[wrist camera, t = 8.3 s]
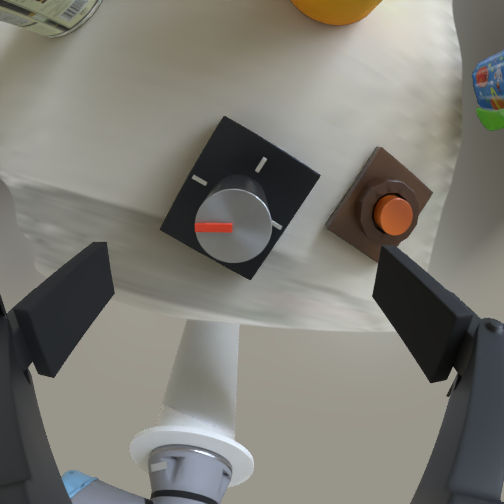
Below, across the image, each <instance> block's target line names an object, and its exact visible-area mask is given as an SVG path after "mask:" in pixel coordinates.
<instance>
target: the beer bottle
mask: <svg viewBox="0 0 504 504" xmlns="http://www.w3.org/2000/svg"><path fill="white" fill-rule="evenodd" d="M291 1H292V3H293V4H294V5H295V6H296V7H297V8H298V9H299V10H300V11H301V12H302V13H304V14H305V15H307V16H308V17H310V18H312V19H314V20H317V21H319V22H322V23H326V24H331V25H347V24H352V23H354V22H357V21H359V20H361V19H363V18H364V17H366V16H367V15H368V14H369V13H370V12H371V11H372V10H373V9H374V8H375V7H376V6H377V5H378V4H379V3H380V2H381V1H382V0H291Z"/></svg>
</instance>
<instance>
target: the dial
mask: <svg viewBox="0 0 504 504" xmlns="http://www.w3.org/2000/svg"><path fill="white" fill-rule="evenodd" d="M195 232H196V236H197V239H198V241H199V243H200V245H201V246H202V247H203V249H204V250H205V251H206V252H207V253H208V254H209V255H211V256H212V257H214V258H216V259H218V260H220V261H223V262H228V263H240V262H244V261H248V260H250V259H252V258H254V257H256V256H257V255H258V254H260V253H261V252H262V251H263V250H264V248H265V247H266V245H267V244H268V242H269V240H270V237H271V233H272V220H271V215H270V212H269V208H268V204H267V200H266V197H265V193H264V191H263V189H262V187H261V186H260V184H259V183H258V182H257V181H255V180H254V179H253V178H251V177H249V176H246V175H240V174H235V175H230V176H227V177H225V178H223V179H221V180H220V181H219V182H218V183H217V184H216V185H215V186H214V188H213V189H212V191H211V192H210V193H209V195H208V196H207V198H206V199H205V200H204V202H203V203H202V205H201V206H200V208H199V210H198V212H197V215H196V219H195Z"/></svg>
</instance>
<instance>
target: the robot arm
mask: <svg viewBox="0 0 504 504" xmlns="http://www.w3.org/2000/svg"><path fill="white" fill-rule="evenodd" d="M114 294H115V292H114V287H113V281H112V275H111V269H110V262H109V255H108V248H107V242H93V243H91V244H90V245H89V246H87V247H86V248H85V249H83V250H82V251H81V252H80V253H78V254H77V255H76V256H74V257H73V258H72V259H71V260H69V261H68V262H67V263H66V264H64V265H63V266H62V267H61V268H59V269H58V270H57V271H56V272H55V273H53V274H52V275H51V276H50V277H49V278H47V279H46V280H45V281H44V282H43V283H42V284H40V285H39V286H38V287H37V288H35V289H34V290H33V291H31V292H30V293H29V294H28V295H27V296H26V297H25V298H24V299H22V301H20V302H19V303H18V304H17V305H16V306H14V307H13V308H12V309H11V310H10V311H9V312H8V313H7V314H6V311H5V308H4V304H3V301H2V298H1V295H0V504H220V502H221V500H222V498H223V496H224V494H225V492H226V490H227V487H228V485H229V483H230V481H231V477H232V465H231V463H230V462H229V461H228V460H227V459H226V458H225V457H223V456H222V455H220V454H218V453H216V452H213V451H211V450H208V449H205V448H201V447H197V446H192V445H184V444H168V445H162V446H159V447H156V448H155V449H153V450H152V451H151V452H150V455H149V459H148V470H149V476H150V482H151V488H152V494H151V498H150V500H149V499H146V498H143V497H140V496H137V495H135V494H132V493H129V492H127V491H124V490H122V489H119V488H116V487H114V486H112V485H109V484H107V483H105V482H103V481H101V480H99V479H98V478H96V477H91V476H89V475H86V474H84V473H81V472H79V471H77V470H70V471H68V472H66V473H65V474H64V475H63V476H62V477H61V476H60V473H59V471H58V468H57V466H56V463H55V460H54V457H53V454H52V451H51V448H50V445H49V442H48V439H47V436H46V432H45V429H44V426H43V422H42V418H41V415H40V411H39V407H38V403H37V399H36V395H35V390H34V385H33V381H32V376H31V373H30V371H29V369H28V367H29V365H30V364H31V363H32V362H33V363H34V365H35V368H36V370H37V372H38V374H40V375H44V376H48V377H52V378H54V377H55V376H56V374H57V373H58V371H59V370H60V368H61V367H62V365H63V364H64V362H65V361H66V359H67V358H68V356H69V355H70V354H71V352H72V350H73V349H74V348H75V346H76V345H77V344H78V342H79V341H80V339H81V338H82V337H83V335H84V334H85V332H86V331H87V330H88V328H89V327H90V326H91V324H92V323H93V321H94V320H95V319H96V317H97V316H98V315H99V313H100V312H101V311H102V309H103V308H104V307H105V305H106V304H107V303H108V301H109V300H110V299H111V297H112V296H113V295H114ZM372 297H373V298H374V300H375V301H376V302H377V304H378V305H379V307H380V308H381V310H382V311H383V312H384V314H385V315H386V317H387V318H388V320H389V321H390V322H391V324H392V325H393V327H394V328H395V330H396V331H397V333H398V334H399V336H400V337H401V339H402V340H403V341H404V343H405V345H406V346H407V347H408V349H409V351H410V352H411V354H412V355H413V357H414V358H415V360H416V361H417V363H418V364H419V366H420V367H421V369H422V371H423V372H424V374H425V375H426V377H427V379H428V380H429V382H430V383H434V382H439V381H443V380H447V378H448V376H449V374H450V372H451V369H452V367H454V368H455V369H456V371H457V372H458V374H457V376H456V378H455V380H454V382H453V384H452V386H451V388H450V390H449V392H448V394H447V397H449V396H450V398H449V402H448V405H447V409H446V412H445V416H444V419H443V422H442V426H441V428H440V432H439V435H438V438H437V440H436V443H435V446H434V449H433V451H432V455H431V457H430V459H429V462H428V464H427V467H426V470H425V472H424V474H423V477H422V479H421V481H420V484H419V486H418V488H417V490H416V493H415V495H414V497H413V499H412V501H411V503H410V504H504V502H501V500H500V497H501V491H502V486H503V481H504V324H503V323H501V322H500V321H498V320H495V319H491V318H483V319H480V318H479V317H478V316H477V315H476V314H475V313H474V312H473V311H472V310H471V309H470V308H469V307H468V306H466V305H465V304H464V303H463V302H462V301H460V299H459V298H458V297H457V296H456V295H455V294H454V293H452V292H450V291H448V290H446V289H445V288H444V287H443V286H442V285H441V284H440V283H439V282H437V281H436V280H435V279H434V278H433V277H432V276H430V275H429V274H428V273H427V272H426V271H425V270H424V269H422V268H421V267H420V266H419V265H418V264H417V263H415V262H414V261H413V260H412V259H411V258H409V257H408V256H407V255H406V254H405V253H403V252H402V251H401V250H400V249H398V248H397V247H396V246H392V245H381V250H380V256H379V262H378V268H377V274H376V279H375V285H374V290H373V295H372Z"/></svg>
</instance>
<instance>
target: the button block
mask: <svg viewBox="0 0 504 504" xmlns="http://www.w3.org/2000/svg"><path fill="white" fill-rule="evenodd" d="M432 194H433V192H432V191H431V190H430V189H429V188H428V187H427V186H426V185H425V184H424V183H423V182H421V181H420V180H419V179H418V178H417V177H416V176H415V175H414V174H413V173H411V172H410V171H409V170H408V169H407V168H406V167H405V166H404V165H402V164H401V163H400V162H399V161H398V160H397V159H395V158H394V157H393V156H392V155H391V154H389V153H388V152H387V151H386V150H384V149H383V148H382V147H377V148H376V149H375V151H374V152H373V154H372V155H371V157H370V159H369V160H368V162H367V163H366V165H365V166H364V168H363V169H362V171H361V172H360V174H359V175H358V177H357V179H356V180H355V182H354V183H353V185H352V186H351V188H350V189H349V191H348V192H347V194H346V195H345V197H344V198H343V200H342V201H341V203H340V204H339V206H338V207H337V208H336V210H335V211H334V213H333V214H332V216H331V217H330V219H329V220H328V222H327V223H326V225H325V226H326V228H327V229H328V230H330V231H331V232H333V233H334V234H336V235H337V236H339V237H340V238H342V239H343V240H345V241H346V242H348V243H349V244H351V245H352V246H354V247H355V248H357V249H358V250H360V251H361V252H363V253H364V254H366V255H367V256H369V257H370V258H371V259H373V260H374V261H376V262H377V263H378V262H379V256H380V250H381V245H392V246H396V247H397V246H398V245H399V243H400V242H401V241H403V240H404V239H406V238H407V237H408V236H409V235H410V234H411V232H412V231H413V229H414V228H415V226H416V225H417V220H418V215H419V214H420V212H421V211H422V209H423V208H424V206H425V205H426V203H427V201H428V200H429V198H430V197H431V195H432ZM387 195H395V196H397V197H399V198H401V199H404V200H405V201H407V202H408V203H409V205H410V206H411V208H412V212H413V219H412V222H411V225H410V227H409V228H408V229H407V230H406V231H405V232H404V233H402V234H400V235H390V234H387V233H386V232H385V231H383V230H382V229H381V228H380V227H378V225H377V224H376V222H375V220H374V209H375V206H376V204H377V202H378V201H379V200H380V199H381V198H383V197H385V196H387Z"/></svg>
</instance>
